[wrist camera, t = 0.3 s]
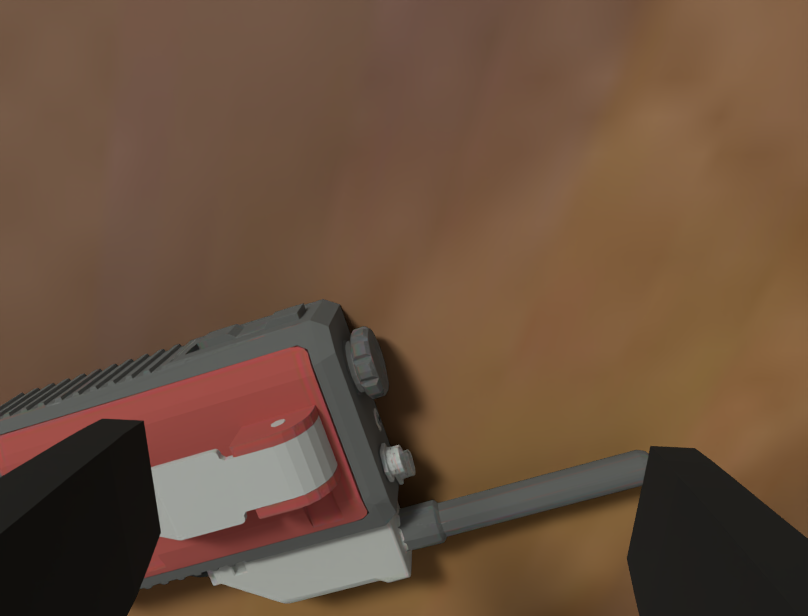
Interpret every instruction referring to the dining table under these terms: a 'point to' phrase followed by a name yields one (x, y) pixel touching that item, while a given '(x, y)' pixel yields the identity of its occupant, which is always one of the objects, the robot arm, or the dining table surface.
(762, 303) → the dining table surface
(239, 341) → the walkie-talkie
